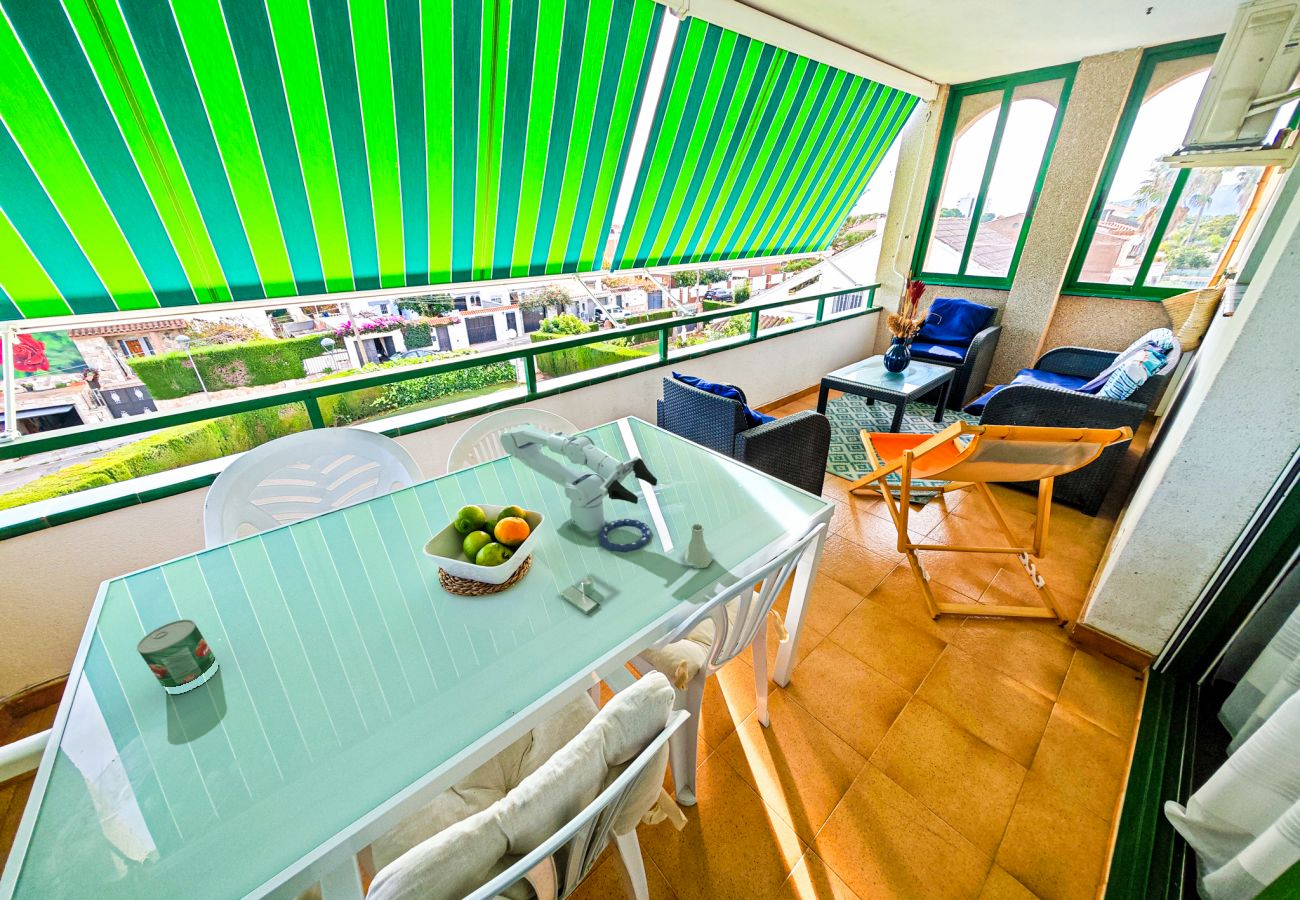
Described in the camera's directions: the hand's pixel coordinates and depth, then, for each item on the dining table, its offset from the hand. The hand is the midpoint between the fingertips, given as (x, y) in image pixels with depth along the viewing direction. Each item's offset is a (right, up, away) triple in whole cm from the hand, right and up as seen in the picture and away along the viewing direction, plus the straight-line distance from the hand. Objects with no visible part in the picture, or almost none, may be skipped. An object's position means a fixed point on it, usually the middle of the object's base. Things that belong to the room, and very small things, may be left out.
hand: (646, 491), depth 113 cm
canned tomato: (-88, -34, -24) cm, 98 cm away
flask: (+13, -18, +3) cm, 22 cm away
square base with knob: (-13, -23, -7) cm, 28 cm away
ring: (-6, -13, +12) cm, 19 cm away
